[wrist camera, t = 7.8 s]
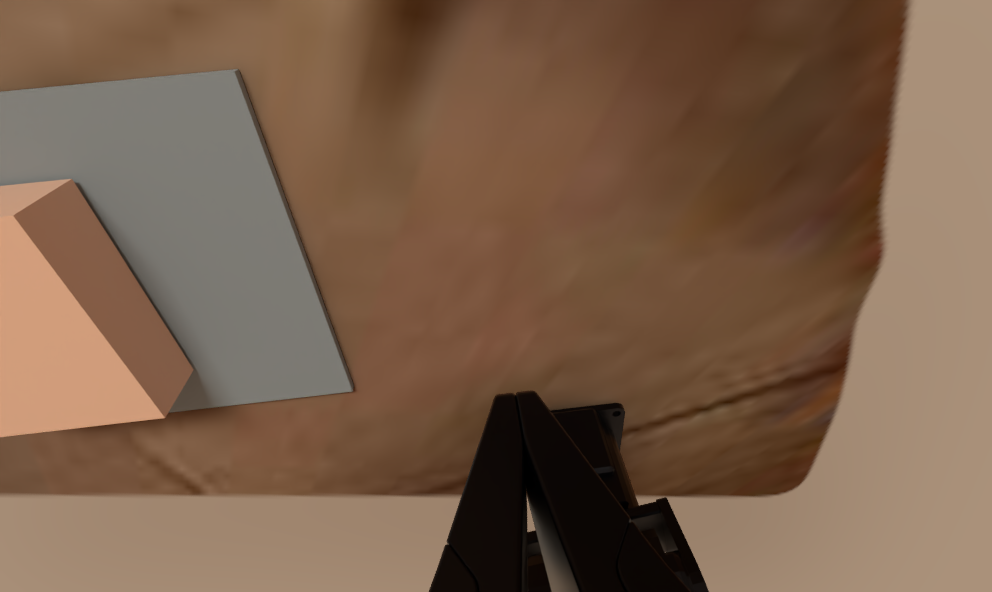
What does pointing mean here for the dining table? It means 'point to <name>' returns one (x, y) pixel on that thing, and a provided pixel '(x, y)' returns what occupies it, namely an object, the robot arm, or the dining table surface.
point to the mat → (189, 224)
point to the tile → (75, 321)
